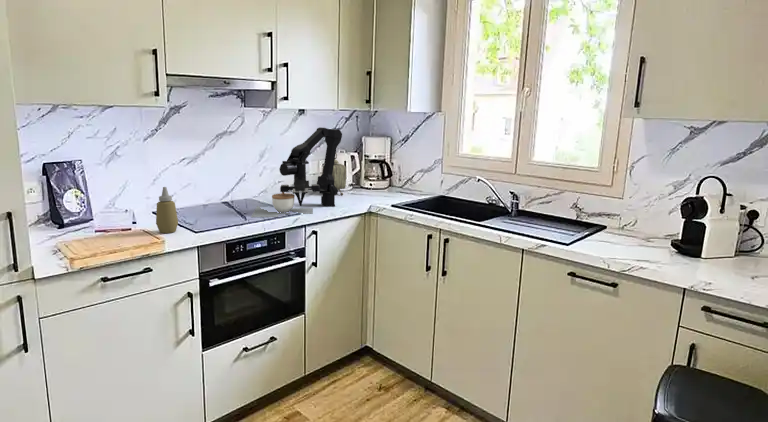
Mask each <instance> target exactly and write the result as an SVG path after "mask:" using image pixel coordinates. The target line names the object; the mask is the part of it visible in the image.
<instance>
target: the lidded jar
mask: <svg viewBox="0 0 768 422" xmlns="http://www.w3.org/2000/svg"><path fill="white" fill-rule="evenodd" d="M295 197H296V195H295V194H293V193H289V192H280V193H275V194H272V195H271V199H272V200H271V201H272V206H274V208H275V209H276V210H277V211H278V212H289V211H290V210H291V209H292V208H294V205H295Z"/></svg>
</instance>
